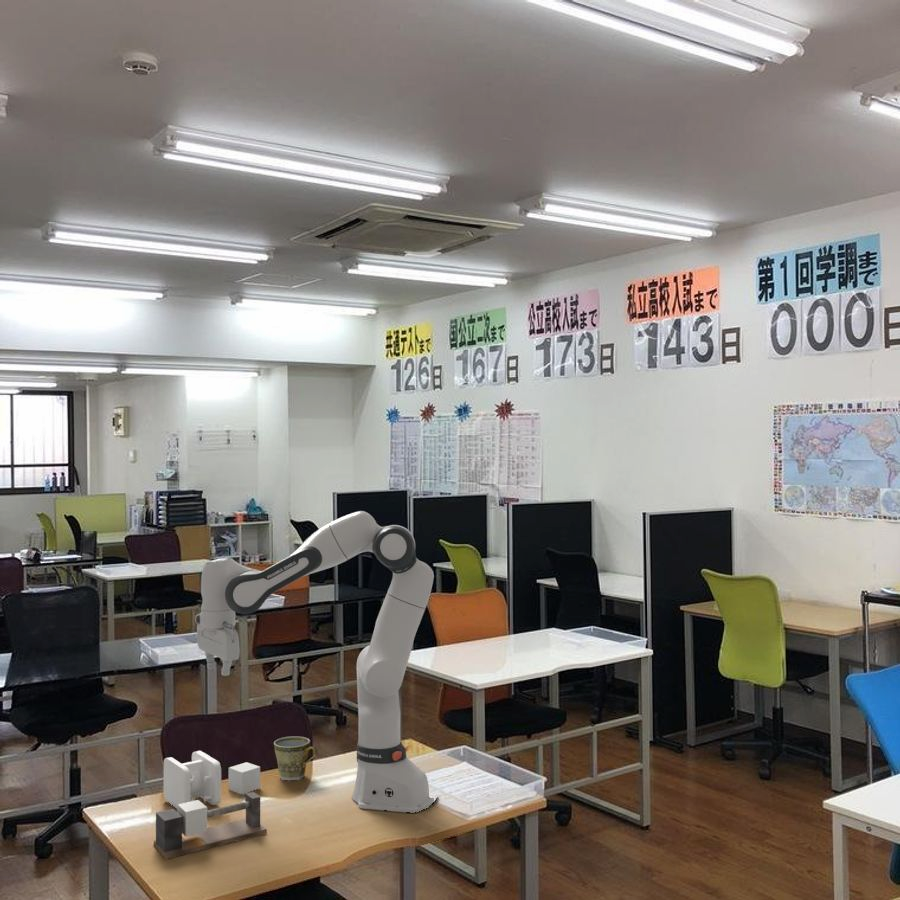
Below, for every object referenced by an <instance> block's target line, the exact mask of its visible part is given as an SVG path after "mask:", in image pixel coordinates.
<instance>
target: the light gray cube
mask: <svg viewBox="0 0 900 900" xmlns="http://www.w3.org/2000/svg"><path fill="white" fill-rule="evenodd" d="M259 788H260V789H261V766H260V765H256V764H253V763H250V762H246V761H245V762H243V763H240V764H236V765H233V766H230V767H228V790H229V791H231V790H232V791H231V792H233V791H234V793H236V792H237V794H239V793H240V794H239V795H241V794H243V795H245V794H244V793H246V794H247V792H249V793H251V792H250V791H252V792H254V791H253V790H255V791H257V790H256V789H258V790H260V789H259Z"/></svg>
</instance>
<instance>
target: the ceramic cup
mask: <svg viewBox="0 0 900 900" xmlns="http://www.w3.org/2000/svg"><path fill="white" fill-rule="evenodd" d="M310 745H311V740H310V739H309V738H307V737H304V736H285V737H281V738H278V739H276V740H274V742H273V747H274V754H275V758H276V761H277V763H276V764H277V767H278V774H279V778H280V780H282V779H283V780H282V781H284V780H297V781H300V780H302V779H304V778H305V773H306V767H307V764H308V763H309V762H310V761H312V759H314V758H315V757H316V756H317V754H318V752H317V749H316V747H315V746H310ZM310 750H313V751H314V755H313V756H312V757H310V758H309V759H308V756H309V751H310ZM303 777H304V778H303ZM301 778H302V779H301ZM299 779H300V780H299Z"/></svg>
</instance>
